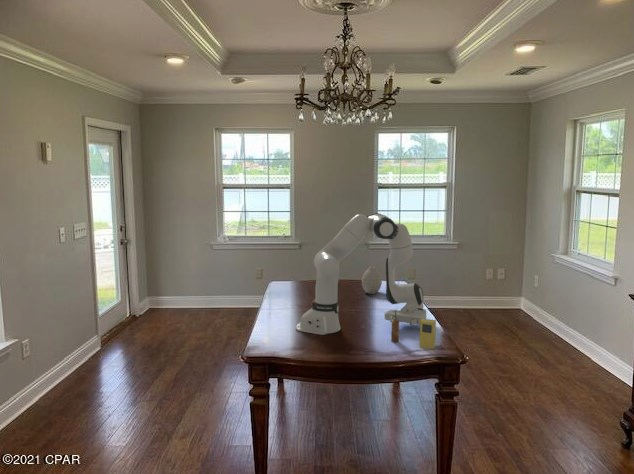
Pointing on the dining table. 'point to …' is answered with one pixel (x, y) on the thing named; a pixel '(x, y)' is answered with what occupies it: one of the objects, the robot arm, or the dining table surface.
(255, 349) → the dining table surface
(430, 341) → the block
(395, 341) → the awl
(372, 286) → the vase
